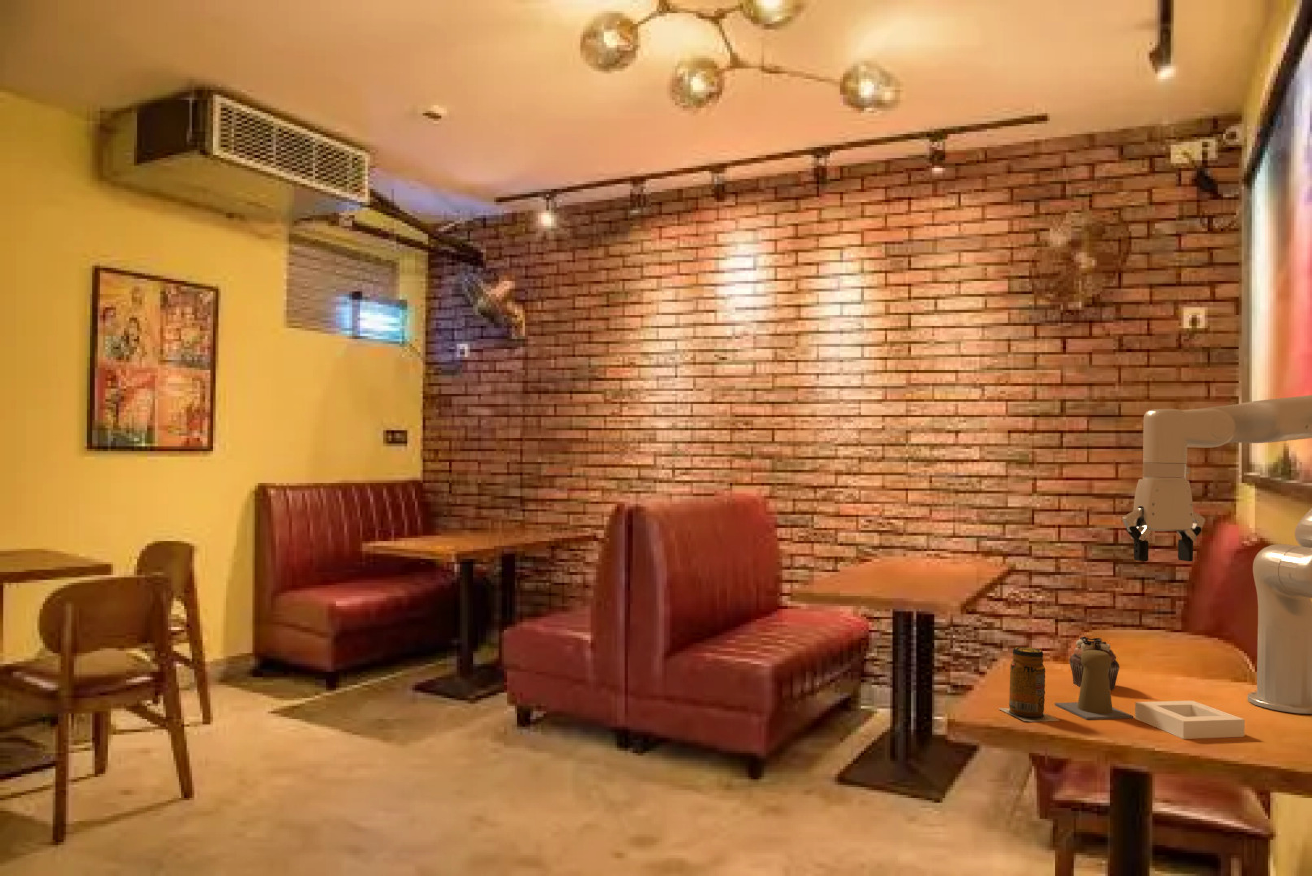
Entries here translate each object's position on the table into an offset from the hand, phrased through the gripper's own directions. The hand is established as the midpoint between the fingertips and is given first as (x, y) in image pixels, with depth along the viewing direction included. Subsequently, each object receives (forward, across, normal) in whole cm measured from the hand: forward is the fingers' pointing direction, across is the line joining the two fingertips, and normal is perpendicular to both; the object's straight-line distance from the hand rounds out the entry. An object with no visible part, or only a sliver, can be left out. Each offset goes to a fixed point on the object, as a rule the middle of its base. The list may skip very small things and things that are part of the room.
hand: (1163, 560), depth 179 cm
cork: (+28, +16, +2) cm, 32 cm away
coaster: (+28, +16, +2) cm, 33 cm away
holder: (+28, +5, +13) cm, 31 cm away
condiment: (+28, +30, +3) cm, 42 cm away
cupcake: (+28, +3, -16) cm, 33 cm away
